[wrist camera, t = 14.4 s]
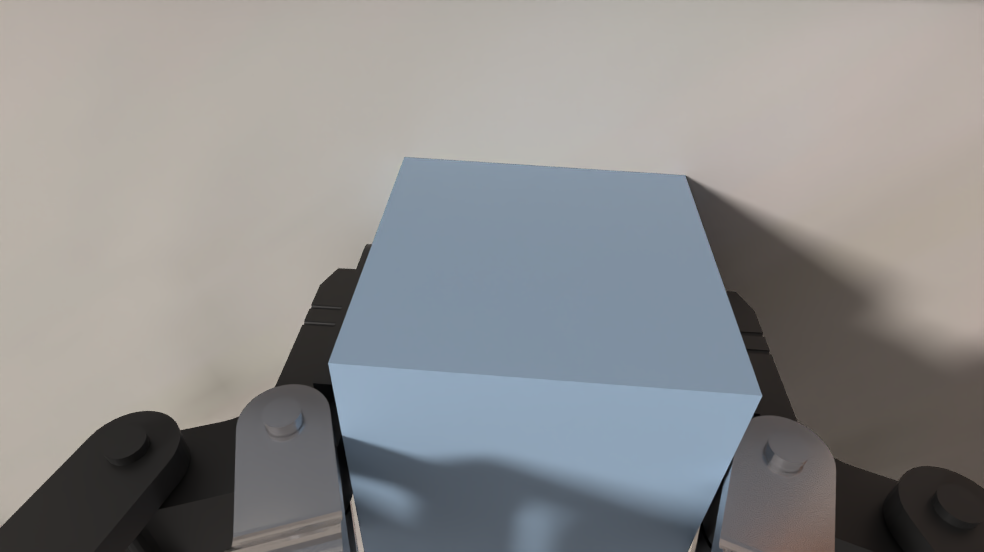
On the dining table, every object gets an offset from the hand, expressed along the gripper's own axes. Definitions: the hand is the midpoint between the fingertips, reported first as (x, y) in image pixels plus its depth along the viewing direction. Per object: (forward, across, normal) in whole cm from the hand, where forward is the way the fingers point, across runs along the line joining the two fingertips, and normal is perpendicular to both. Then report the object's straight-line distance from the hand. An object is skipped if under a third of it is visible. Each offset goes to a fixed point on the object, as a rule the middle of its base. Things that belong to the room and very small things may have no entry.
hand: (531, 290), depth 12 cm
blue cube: (0, 0, 0) cm, 0 cm away
